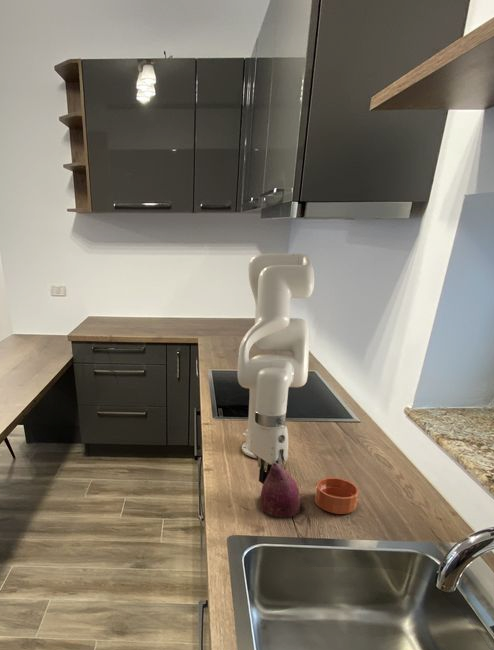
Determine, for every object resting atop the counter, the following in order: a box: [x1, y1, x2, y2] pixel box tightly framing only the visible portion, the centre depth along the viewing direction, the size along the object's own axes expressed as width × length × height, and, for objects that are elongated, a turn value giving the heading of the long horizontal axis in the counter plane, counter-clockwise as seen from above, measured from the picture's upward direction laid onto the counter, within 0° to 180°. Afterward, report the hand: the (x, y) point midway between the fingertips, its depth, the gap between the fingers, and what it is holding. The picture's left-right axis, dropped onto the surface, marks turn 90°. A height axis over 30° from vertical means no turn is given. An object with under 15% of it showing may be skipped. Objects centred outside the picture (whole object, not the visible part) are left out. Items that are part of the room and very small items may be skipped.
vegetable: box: [259, 462, 302, 518], centre depth 111 cm, size 10×10×15 cm
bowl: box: [314, 476, 360, 515], centre depth 114 cm, size 10×10×5 cm
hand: (265, 481), depth 118 cm, fingers closed
